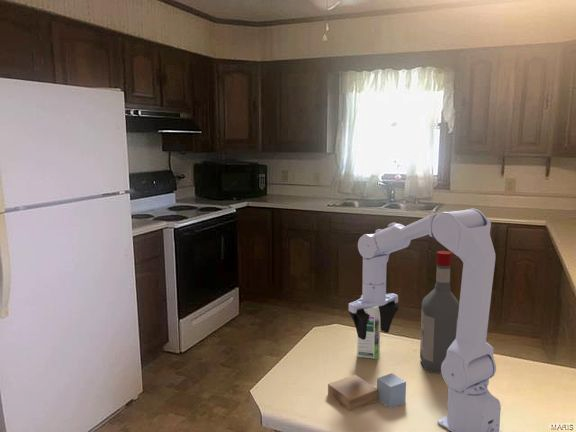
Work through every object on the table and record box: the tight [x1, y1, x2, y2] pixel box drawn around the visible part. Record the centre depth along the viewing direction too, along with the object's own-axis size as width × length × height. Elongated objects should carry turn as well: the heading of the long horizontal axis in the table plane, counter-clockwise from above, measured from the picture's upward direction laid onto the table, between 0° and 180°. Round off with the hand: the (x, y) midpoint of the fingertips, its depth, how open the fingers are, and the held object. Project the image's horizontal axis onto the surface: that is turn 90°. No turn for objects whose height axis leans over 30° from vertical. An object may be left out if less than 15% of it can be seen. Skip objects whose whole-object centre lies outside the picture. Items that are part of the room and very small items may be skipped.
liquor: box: [419, 250, 460, 374], centre depth 118 cm, size 9×9×30 cm
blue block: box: [376, 373, 407, 409], centre depth 103 cm, size 4×4×5 cm
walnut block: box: [327, 374, 379, 412], centre depth 105 cm, size 8×8×3 cm
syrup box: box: [356, 306, 381, 360], centre depth 126 cm, size 6×6×14 cm
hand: (373, 334), depth 115 cm, fingers open, 7 cm apart
